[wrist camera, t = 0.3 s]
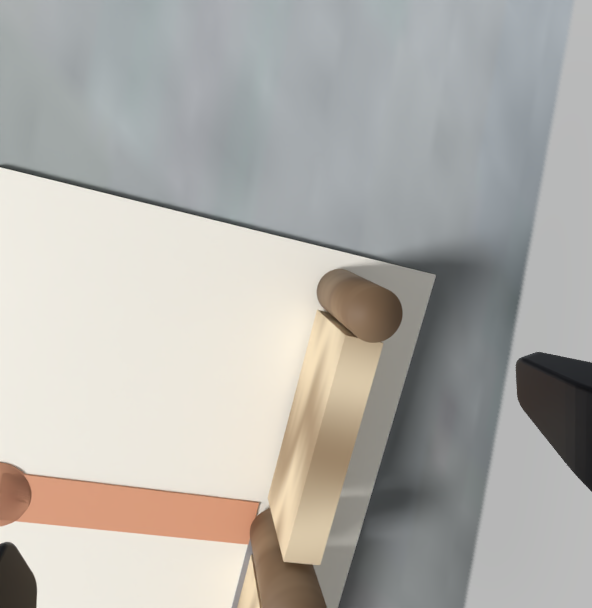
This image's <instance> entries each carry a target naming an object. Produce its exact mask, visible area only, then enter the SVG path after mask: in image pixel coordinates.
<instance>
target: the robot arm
mask: <svg viewBox="0 0 592 608" xmlns="http://www.w3.org/2000/svg"><path fill="white" fill-rule="evenodd" d="M516 382H517V397H518V400H519V403H520V405H521V407H522V408H523V410H524V411H525V412H526V414H527V415H528V416H529V417H530V419H531V420H532V421H533V422H534V424H535V425H536V426H537V427H538V429H539V430H540V431H541V433H542V434H543V435H544V436H545V437H546V439H547V440H548V441H549V443H550V444H551V445H552V446H553V448H554V449H555V450H556V451H557V453H558V454H559V455H560V456H561V458H562V459H563V460H564V462H565V463H566V464H567V465H568V466H569V467H570V469H571V470H572V471H573V472H574V473H575V474H576V476H577V477H578V478H579V479H580V480H581V481H582V482H583V483H584V484H585V485H586V486H587V487H588V488H589V489H590V490H591V491H592V363H590V362H586V361H581V360H576V359H571V358H566V357H561V356H557V355H551V354H547V353H542V352H536V353H533V354H530V355H527V356H524V357H522V358H520V359H519V360H518V361H517V363H516ZM0 608H37V583H36V579H35V576H34V574H33V572H32V571H31V569H30V568H29V566H28V565H27V563H26V561H25V560H24V558H23V557H22V555H21V553H20V552H19V550H18V549H17V547H16V546H15V545H14V544H13V543H11V542H3V543H1V544H0Z"/></svg>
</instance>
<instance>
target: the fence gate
mask: <svg viewBox="0 0 592 608" xmlns="http://www.w3.org/2000/svg"><path fill="white" fill-rule="evenodd" d="M317 298H318V301H319V303H320V305H321V306H322V307H323V308H324V309H325V310H326V311H327V312H326V311H321V310H317V311H316V315H315V319H314V323H313V327H312V331H311V334H310V338H309V342H308V346H307V350H306V353H305V357H304V361H303V365H302V369H301V372H300V376H299V380H298V384H297V388H296V392H295V395H294V399H293V403H292V407H291V411H290V414H289V418H288V422H287V426H286V430H285V433H284V437H283V441H282V445H281V449H280V453H279V456H278V460H277V464H276V468H275V472H274V475H273V479H272V483H271V487H270V491H269V494H268V502H269V506H270V509H267V510H265V511H263V512H261V513H260V514H259V515H258V516H257V517H256V518H255V519H254V520H253V522H252V524H251V527H250V540H251V546H252V552H253V557H254V563H255V569H256V575H257V581H258V587H259V593H260V598H261V604H262V608H327V606H326V603H325V600H324V597H323V594H322V591H321V588H320V585H319V582H318V578H317V575H316V572H315V569H314V566H313V565H320V564H321V561H322V557H323V554H324V550H325V547H326V543H327V540H328V536H329V533H330V529H331V526H332V522H333V519H334V515H335V512H336V508H337V505H338V501H339V498H340V494H341V491H342V487H343V484H344V480H345V477H346V473H347V470H348V466H349V463H350V459H351V456H352V452H353V449H354V445H355V442H356V438H357V435H358V431H359V428H360V424H361V421H362V417H363V414H364V410H365V406H366V403H367V399H368V396H369V392H370V389H371V385H372V382H373V378H374V375H375V371H376V368H377V364H378V361H379V357H380V354H381V350H382V347H383V342H382V341H384V340H387V339H388V338H390V337H391V336H392V335H393V334H394V333H395V332H396V331H397V330H398V328H399V326H400V324H401V321H402V316H403V310H402V305H401V302H400V300H399V299H398V297H397V296H396V295H395V294H394V293H393V292H391V291H390V290H388V289H386V288H384V287H381V286H379V285H377V284H375V283H373V282H371V281H369V280H367V279H365V278H363V277H360V276H358V275H356V274H354V273H352V272H350V271H348V270H345V269H334V270H331V271H329V272H327V273H326V274H325V275H324V276H323V277H322V278H321V279H320V281H319V283H318V286H317Z"/></svg>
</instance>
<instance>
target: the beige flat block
mask: <svg viewBox="0 0 592 608" xmlns="http://www.w3.org/2000/svg"><path fill="white" fill-rule="evenodd" d="M237 608H262V604H261V598H260V593H259V587H258V581H257V575H256V569H255V563H254V557H253V554H251V556H250V560H249V564H248V568H247V572H246V575H245V579H244V583H243V587H242V591H241V594H240V598H239V602H238V606H237Z"/></svg>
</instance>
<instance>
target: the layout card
mask: <svg viewBox="0 0 592 608" xmlns="http://www.w3.org/2000/svg"><path fill="white" fill-rule="evenodd" d="M334 269H345V270H348V271H350V272H352V273H354V274H356V275H358V276H360V277H363V278H365V279H367V280H369V281H371V282H373V283H375V284H377V285H379V286H381V287H384V288H386V289H388V290H390V291H391V292H393V293H394V294H395V295H396V296H397V297H398V299H399V300H400V302H401V305H402V310H403V316H402V321H401V324H400V326H399V328H398V330H397V331H396V332H395V333H394V334H393V335H392V336H391V337H390V338H388V339H387V340H384V341H382V342H383V347H382V350H381V354H380V357H379V361H378V364H377V368H376V371H375V375H374V378H373V382H372V385H371V389H370V392H369V396H368V399H367V403H366V406H365V410H364V414H363V417H362V421H361V424H360V428H359V431H358V435H357V438H356V442H355V445H354V449H353V452H352V456H351V459H350V463H349V466H348V470H347V473H346V477H345V480H344V484H343V487H342V491H341V494H340V498H339V501H338V505H337V508H336V512H335V515H334V519H333V522H332V526H331V529H330V533H329V536H328V540H327V543H326V547H325V550H324V554H323V557H322V561H321V564H320V565H313V566H314V569H315V572H316V575H317V578H318V582H319V585H320V588H321V591H322V594H323V597H324V600H325V603H326V606H327V608H338V606H339V602H340V599H341V595H342V592H343V589H344V585H345V582H346V579H347V575H348V572H349V568H350V565H351V562H352V558H353V555H354V551H355V548H356V545H357V541H358V538H359V535H360V531H361V528H362V524H363V521H364V518H365V514H366V511H367V507H368V504H369V501H370V497H371V494H372V491H373V487H374V484H375V480H376V477H377V474H378V470H379V467H380V463H381V460H382V457H383V453H384V450H385V447H386V443H387V440H388V436H389V433H390V430H391V426H392V423H393V419H394V416H395V413H396V409H397V406H398V403H399V399H400V396H401V392H402V389H403V386H404V382H405V379H406V375H407V372H408V369H409V365H410V362H411V359H412V355H413V352H414V348H415V345H416V342H417V338H418V335H419V331H420V328H421V325H422V321H423V318H424V315H425V311H426V308H427V304H428V301H429V298H430V294H431V291H432V287H433V284H434V281H435V277H436V275H434V274H431V273H427V272H423V271H419V270H415V269H411V268H407V267H403V266H399V265H394V264H390V263H386V262H382V261H378V260H374V259H370V258H366V257H362V256H358V255H354V254H350V253H346V252H342V251H338V250H334V249H330V248H326V247H322V246H318V245H314V244H310V243H305V242H301V241H297V240H293V239H289V238H285V237H281V236H277V235H273V234H269V233H265V232H261V231H257V230H253V229H249V228H245V227H241V226H237V225H233V224H229V223H225V222H221V221H216V220H212V219H208V218H204V217H200V216H196V215H192V214H188V213H184V212H180V211H176V210H172V209H168V208H164V207H160V206H156V205H152V204H148V203H144V202H140V201H136V200H132V199H127V198H123V197H119V196H115V195H111V194H107V193H103V192H99V191H95V190H91V189H87V188H83V187H79V186H75V185H71V184H67V183H63V182H59V181H55V180H51V179H47V178H43V177H38V176H34V175H30V174H26V173H22V172H18V171H14V170H10V169H6V168H2V167H0V544H1V543H3V542H11V543H13V544H14V545H15V546H16V547H17V549H18V550H19V552H20V553H21V555H22V557H23V558H24V560H25V561H26V563H27V565H28V566H29V568H30V569H31V571H32V572H33V574H34V576H35V579H36V583H37V608H237V606H238V602H239V598H240V594H241V591H242V587H243V583H244V579H245V575H246V572H247V568H248V564H249V560H250V556H251V554H253V552H252V546H251V540H250V527H251V524H252V522H253V520H254V519H255V518H256V517H257V516H258V515H259V514H260V513H261V512H263V511H265V510H267V509H270V506H269V502H268V494H269V491H270V487H271V483H272V479H273V475H274V472H275V468H276V464H277V460H278V456H279V453H280V449H281V445H282V441H283V437H284V433H285V430H286V426H287V422H288V418H289V414H290V411H291V407H292V403H293V399H294V395H295V392H296V388H297V384H298V380H299V376H300V372H301V369H302V365H303V361H304V357H305V353H306V350H307V346H308V342H309V338H310V334H311V331H312V327H313V323H314V319H315V315H316V311H317V310H321V311H326V310H325V309H324V308H323V307H322V306H321V305H320V303H319V301H318V298H317V286H318V283H319V281H320V279H321V278H322V277H323V276H324V275H325V274H326V273H327V272H329V271H331V270H334ZM326 312H327V311H326Z"/></svg>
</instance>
